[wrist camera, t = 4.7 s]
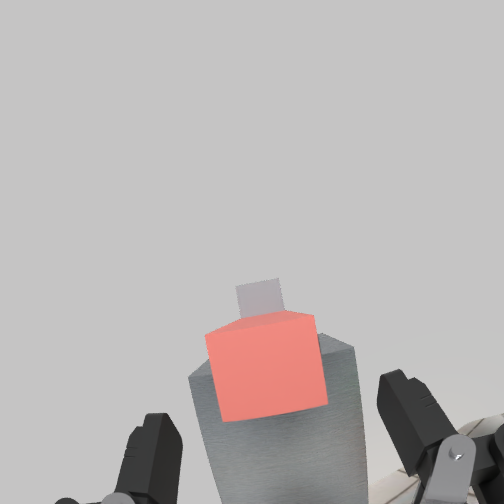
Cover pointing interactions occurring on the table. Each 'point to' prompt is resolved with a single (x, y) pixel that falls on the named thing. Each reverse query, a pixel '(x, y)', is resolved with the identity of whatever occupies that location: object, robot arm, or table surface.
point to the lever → (266, 357)
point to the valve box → (290, 442)
